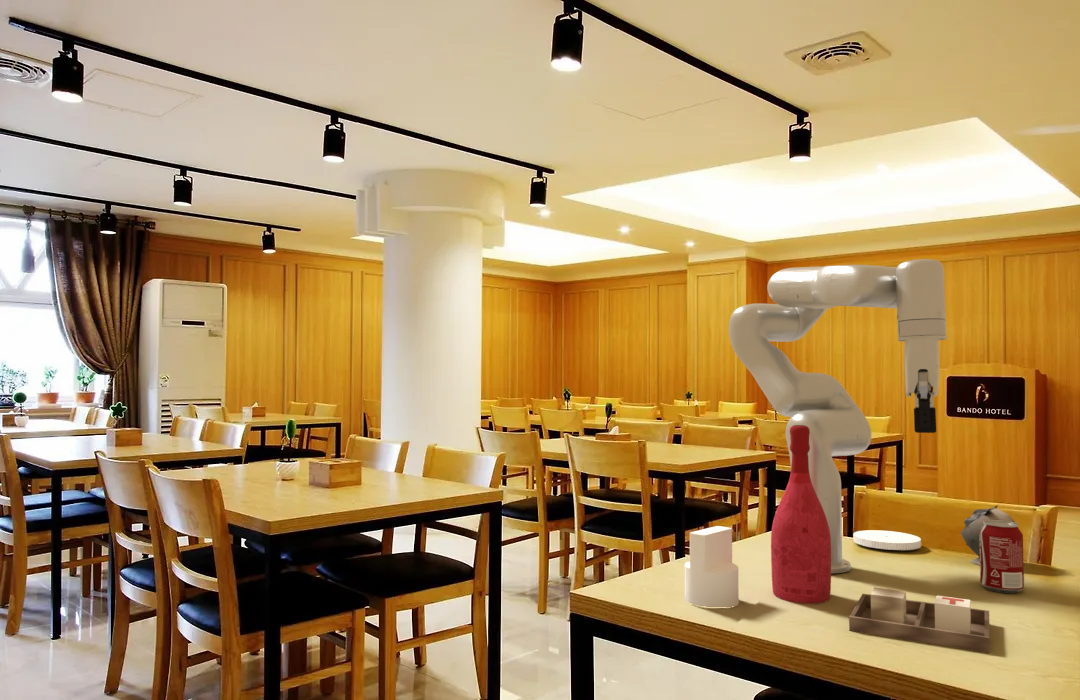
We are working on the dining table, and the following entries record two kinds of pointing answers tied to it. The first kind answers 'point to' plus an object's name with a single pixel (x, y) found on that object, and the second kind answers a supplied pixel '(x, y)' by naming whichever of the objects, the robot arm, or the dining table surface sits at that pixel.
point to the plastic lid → (887, 540)
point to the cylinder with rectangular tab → (711, 569)
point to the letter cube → (952, 614)
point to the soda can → (1001, 556)
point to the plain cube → (888, 605)
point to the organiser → (922, 626)
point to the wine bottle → (800, 534)
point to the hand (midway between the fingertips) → (925, 431)
